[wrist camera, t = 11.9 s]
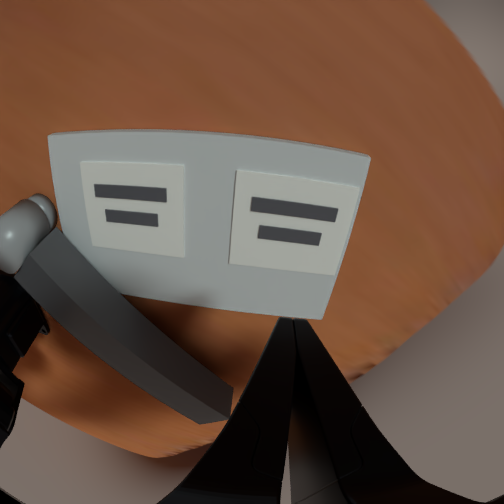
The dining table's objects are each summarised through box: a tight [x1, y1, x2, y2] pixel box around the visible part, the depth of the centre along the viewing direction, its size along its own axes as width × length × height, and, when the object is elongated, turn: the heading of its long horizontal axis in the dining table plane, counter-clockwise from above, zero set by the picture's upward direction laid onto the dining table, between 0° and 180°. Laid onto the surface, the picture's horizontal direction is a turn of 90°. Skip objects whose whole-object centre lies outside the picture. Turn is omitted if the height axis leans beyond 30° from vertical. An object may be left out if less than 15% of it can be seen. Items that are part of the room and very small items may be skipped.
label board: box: [28, 129, 371, 320], centre depth 15 cm, size 19×10×1 cm, turn 84°
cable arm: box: [0, 199, 233, 424], centre depth 17 cm, size 20×3×3 cm, turn 35°
